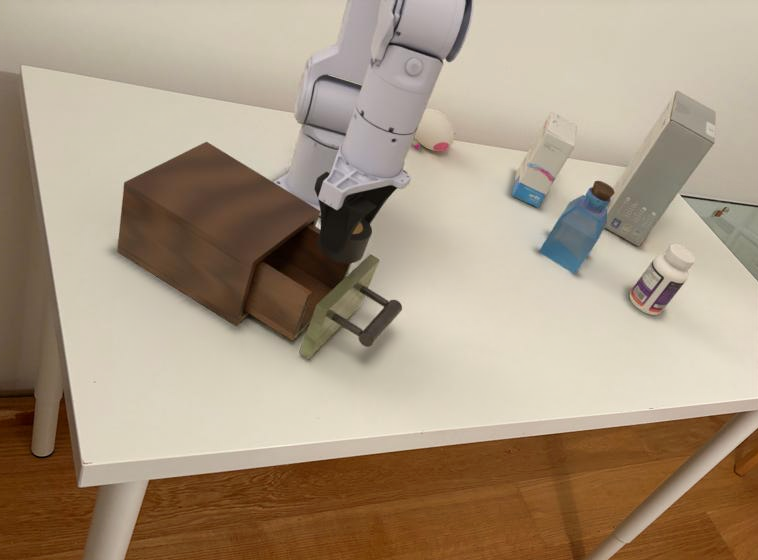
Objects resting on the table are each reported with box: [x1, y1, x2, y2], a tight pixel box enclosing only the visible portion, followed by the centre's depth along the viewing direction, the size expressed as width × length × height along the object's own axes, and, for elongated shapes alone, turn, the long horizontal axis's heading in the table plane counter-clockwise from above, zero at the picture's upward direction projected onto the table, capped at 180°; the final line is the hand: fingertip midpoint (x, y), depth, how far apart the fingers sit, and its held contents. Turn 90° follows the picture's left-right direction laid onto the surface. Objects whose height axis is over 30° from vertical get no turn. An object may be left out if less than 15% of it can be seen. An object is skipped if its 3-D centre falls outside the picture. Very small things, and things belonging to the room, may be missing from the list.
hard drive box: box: [604, 90, 717, 247], centre depth 117 cm, size 16×8×20 cm, turn 160°
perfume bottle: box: [538, 180, 615, 275], centre depth 103 cm, size 6×6×12 cm
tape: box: [317, 218, 373, 264], centre depth 72 cm, size 5×5×3 cm
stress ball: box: [413, 107, 456, 152], centre depth 113 cm, size 8×8×7 cm
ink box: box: [511, 111, 578, 209], centre depth 113 cm, size 9×5×12 cm, turn 168°
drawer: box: [244, 224, 403, 360], centre depth 75 cm, size 18×11×7 cm, turn 66°
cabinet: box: [116, 141, 320, 327], centre depth 75 cm, size 15×13×9 cm
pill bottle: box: [629, 243, 696, 316], centre depth 103 cm, size 5×5×10 cm
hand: (343, 236), depth 72 cm, fingers closed on tape, 5 cm apart
